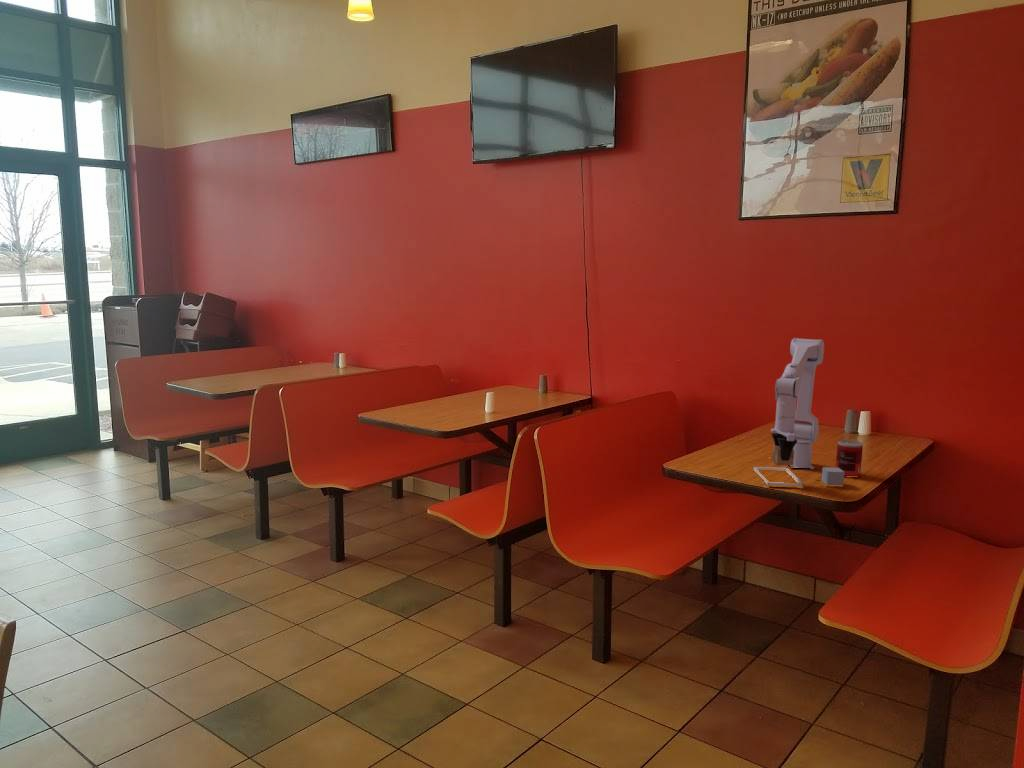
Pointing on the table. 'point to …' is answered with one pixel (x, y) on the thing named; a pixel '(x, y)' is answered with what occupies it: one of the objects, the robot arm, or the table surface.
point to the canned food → (849, 457)
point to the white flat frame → (799, 482)
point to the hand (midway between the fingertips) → (782, 458)
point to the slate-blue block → (833, 476)
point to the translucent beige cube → (777, 457)
